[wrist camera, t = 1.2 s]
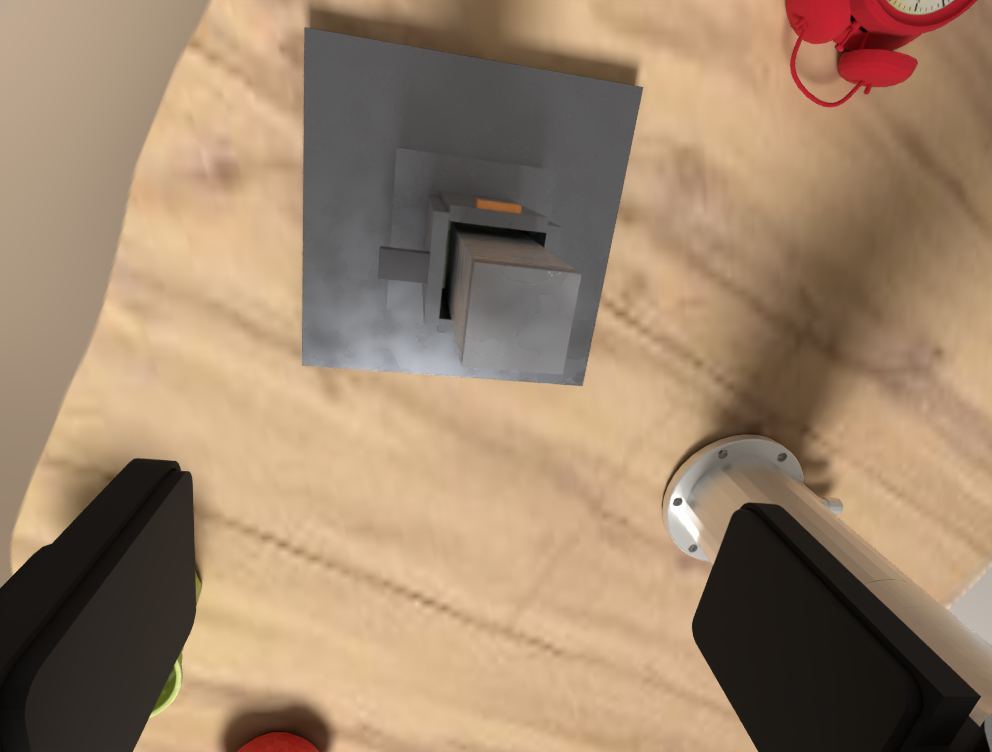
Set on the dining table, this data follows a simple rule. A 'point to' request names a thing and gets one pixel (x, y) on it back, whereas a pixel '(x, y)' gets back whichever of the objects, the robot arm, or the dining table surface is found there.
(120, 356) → the dining table surface
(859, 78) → the alarm clock
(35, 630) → the robot arm
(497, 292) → the steel post
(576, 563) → the dining table surface
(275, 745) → the pomegranate
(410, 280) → the charcoal stand
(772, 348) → the dining table surface
